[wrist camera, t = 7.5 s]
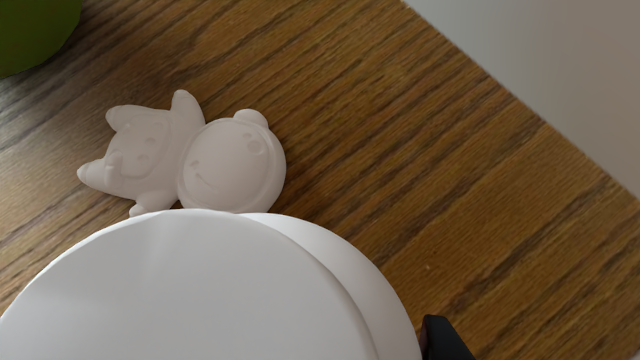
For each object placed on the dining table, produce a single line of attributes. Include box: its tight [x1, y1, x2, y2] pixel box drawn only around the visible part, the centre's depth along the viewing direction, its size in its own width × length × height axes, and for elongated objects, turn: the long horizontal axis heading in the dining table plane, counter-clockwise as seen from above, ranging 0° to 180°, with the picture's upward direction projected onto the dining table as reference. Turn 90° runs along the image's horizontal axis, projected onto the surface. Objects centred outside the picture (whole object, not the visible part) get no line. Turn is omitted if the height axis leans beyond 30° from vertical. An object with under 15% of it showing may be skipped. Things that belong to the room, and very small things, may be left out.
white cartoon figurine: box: [77, 90, 286, 219], centre depth 23 cm, size 9×12×3 cm
